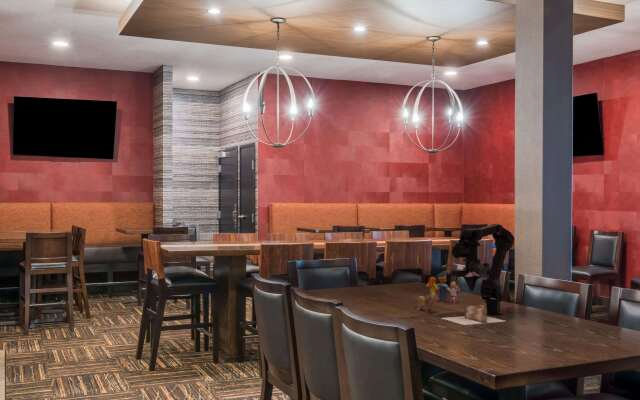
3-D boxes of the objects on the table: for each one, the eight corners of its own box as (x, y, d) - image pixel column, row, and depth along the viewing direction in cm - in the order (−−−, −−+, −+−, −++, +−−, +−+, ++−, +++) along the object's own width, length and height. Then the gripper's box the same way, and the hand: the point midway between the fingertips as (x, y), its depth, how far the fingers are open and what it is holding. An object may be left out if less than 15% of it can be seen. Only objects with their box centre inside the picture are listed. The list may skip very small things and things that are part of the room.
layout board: (481, 315, 316) (481, 314, 316) (505, 321, 301) (505, 320, 301) (440, 318, 307) (440, 318, 307) (464, 325, 291) (464, 324, 291)
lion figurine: (439, 312, 324) (440, 293, 324) (431, 313, 321) (432, 294, 321) (417, 308, 336) (417, 289, 336) (409, 309, 333) (409, 290, 333)
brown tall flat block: (463, 317, 308) (464, 304, 308) (467, 316, 309) (467, 304, 309) (483, 322, 297) (483, 309, 297) (486, 321, 297) (486, 308, 297)
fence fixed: (483, 316, 313) (483, 302, 313) (486, 317, 311) (486, 303, 311) (467, 318, 309) (467, 303, 309) (470, 318, 307) (470, 304, 307)
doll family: (461, 303, 351) (461, 277, 351) (447, 305, 345) (447, 279, 345) (432, 298, 368) (432, 273, 368) (418, 300, 363) (418, 275, 363)
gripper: (466, 259, 300) (466, 295, 300) (499, 257, 308) (499, 291, 308) (450, 257, 310) (450, 292, 310) (483, 255, 318) (483, 288, 318)
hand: (471, 291), depth 311 cm, fingers closed
